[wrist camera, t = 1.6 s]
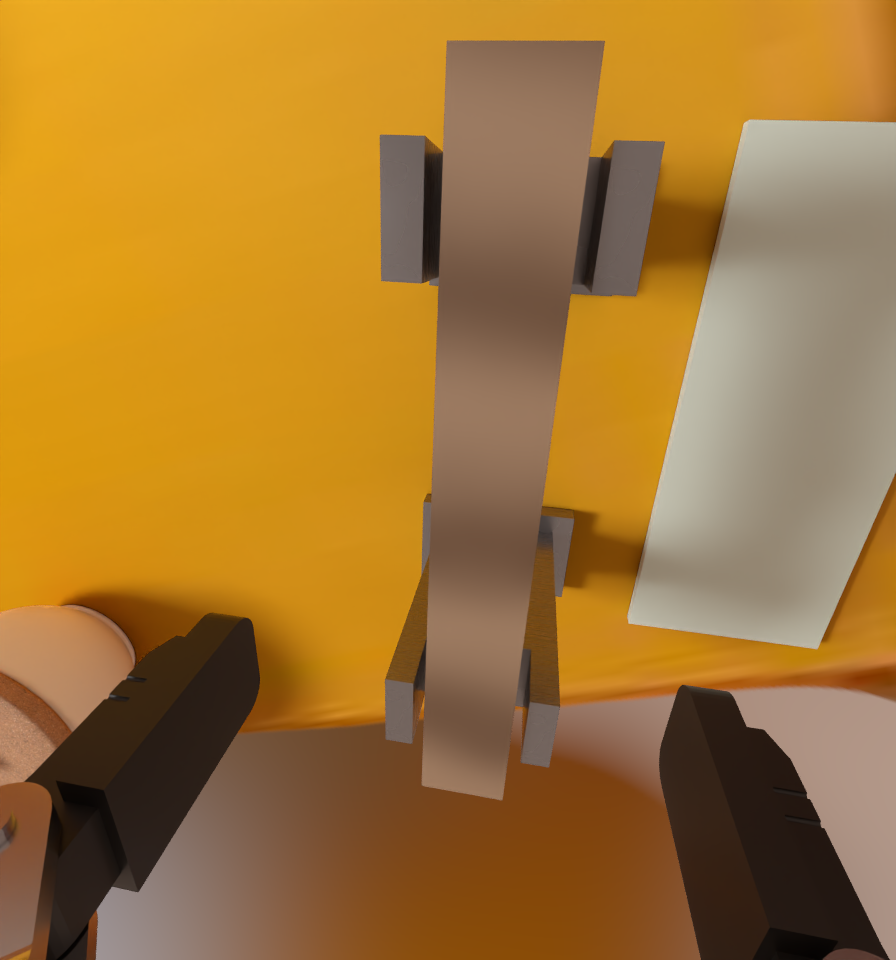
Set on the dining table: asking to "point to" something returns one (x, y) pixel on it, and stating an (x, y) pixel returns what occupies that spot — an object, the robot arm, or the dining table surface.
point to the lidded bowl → (53, 679)
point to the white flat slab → (782, 392)
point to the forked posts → (598, 271)
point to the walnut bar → (497, 377)
